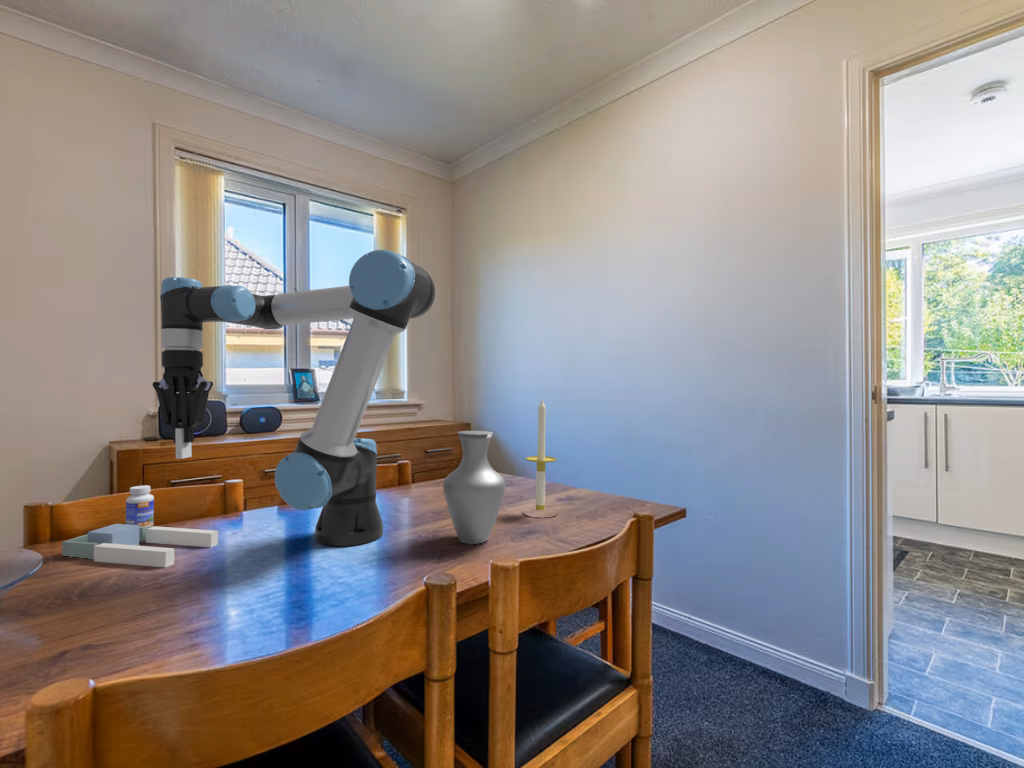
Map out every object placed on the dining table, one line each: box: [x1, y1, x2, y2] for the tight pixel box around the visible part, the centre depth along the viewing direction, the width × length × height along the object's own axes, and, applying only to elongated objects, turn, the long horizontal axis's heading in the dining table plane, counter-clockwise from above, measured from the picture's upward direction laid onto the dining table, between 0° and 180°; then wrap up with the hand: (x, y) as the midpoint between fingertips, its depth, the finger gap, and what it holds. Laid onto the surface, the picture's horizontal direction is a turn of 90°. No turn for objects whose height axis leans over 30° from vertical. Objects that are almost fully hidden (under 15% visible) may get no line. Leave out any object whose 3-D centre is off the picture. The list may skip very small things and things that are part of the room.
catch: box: [61, 527, 147, 560], centre depth 104 cm, size 8×12×3 cm, turn 171°
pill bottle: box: [125, 484, 155, 529], centre depth 119 cm, size 5×5×10 cm
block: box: [87, 523, 140, 546], centre depth 103 cm, size 6×6×4 cm
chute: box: [93, 525, 219, 569], centre depth 102 cm, size 16×14×3 cm
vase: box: [442, 430, 507, 545], centre depth 113 cm, size 14×14×25 cm
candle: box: [525, 398, 557, 510], centre depth 137 cm, size 10×10×32 cm
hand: (183, 457), depth 108 cm, fingers closed
